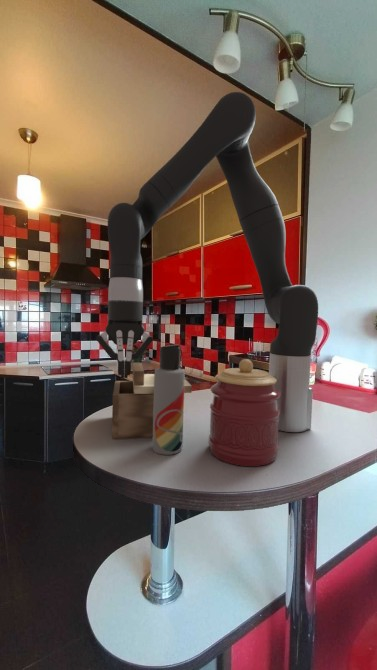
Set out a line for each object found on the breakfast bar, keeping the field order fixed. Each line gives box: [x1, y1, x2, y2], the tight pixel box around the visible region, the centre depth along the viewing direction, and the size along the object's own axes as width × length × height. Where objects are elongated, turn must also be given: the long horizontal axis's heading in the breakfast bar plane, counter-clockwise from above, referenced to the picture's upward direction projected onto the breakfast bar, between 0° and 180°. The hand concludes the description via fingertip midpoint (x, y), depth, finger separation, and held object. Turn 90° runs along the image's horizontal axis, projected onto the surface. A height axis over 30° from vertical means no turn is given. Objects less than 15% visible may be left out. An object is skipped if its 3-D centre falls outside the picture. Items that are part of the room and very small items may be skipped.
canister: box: [208, 358, 281, 467], centre depth 57 cm, size 13×13×18 cm
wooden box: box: [111, 380, 154, 440], centre depth 69 cm, size 12×14×9 cm
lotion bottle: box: [152, 344, 186, 456], centre depth 57 cm, size 6×6×20 cm
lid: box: [132, 362, 192, 394], centre depth 69 cm, size 12×14×4 cm
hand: (124, 377), depth 68 cm, fingers closed
